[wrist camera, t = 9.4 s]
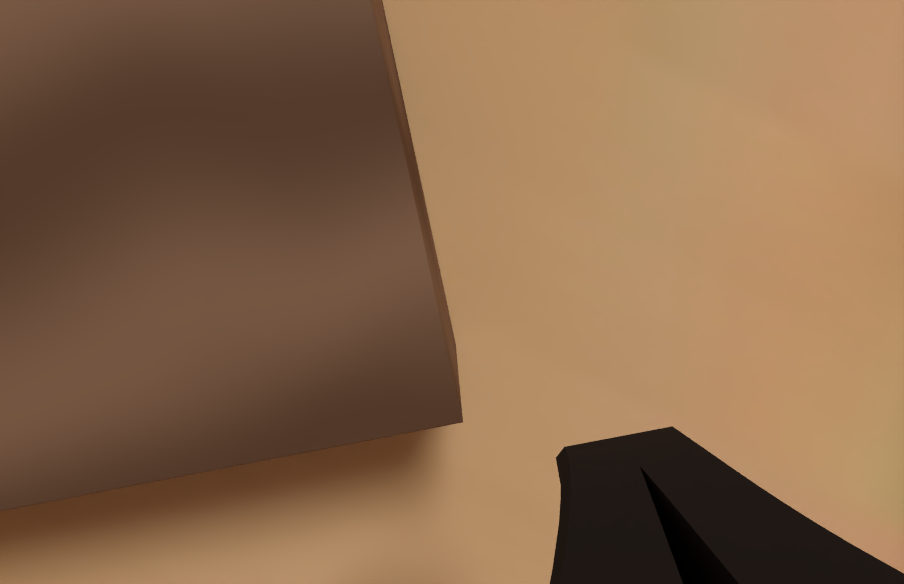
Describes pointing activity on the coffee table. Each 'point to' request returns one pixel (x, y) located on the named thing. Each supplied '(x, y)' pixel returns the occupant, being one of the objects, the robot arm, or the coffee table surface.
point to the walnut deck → (207, 242)
